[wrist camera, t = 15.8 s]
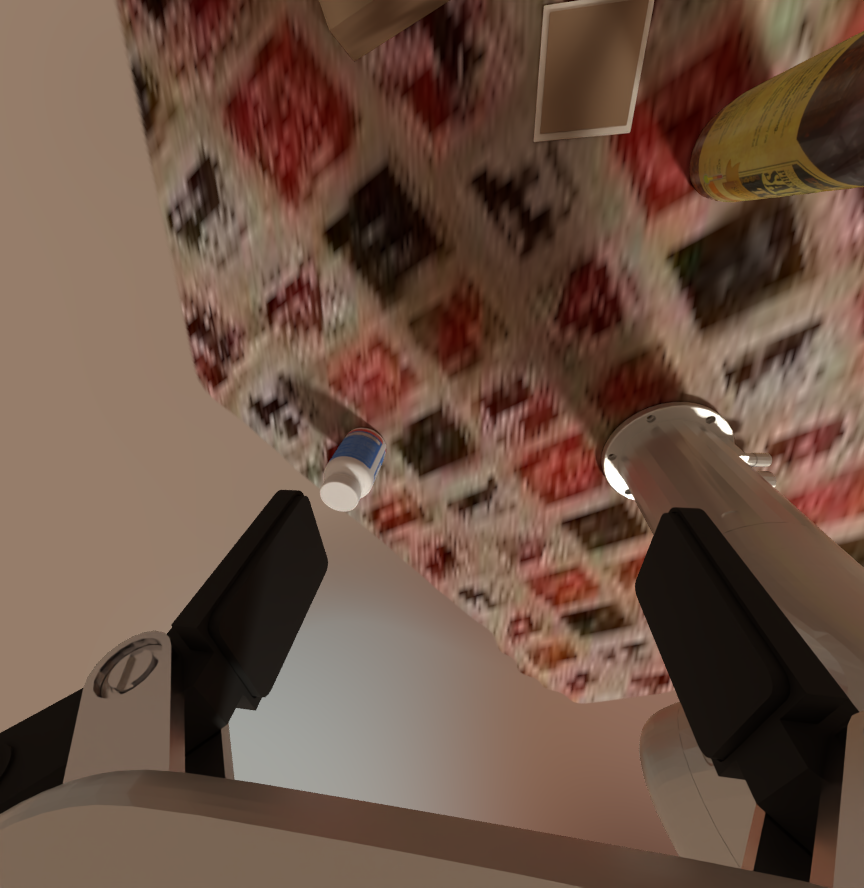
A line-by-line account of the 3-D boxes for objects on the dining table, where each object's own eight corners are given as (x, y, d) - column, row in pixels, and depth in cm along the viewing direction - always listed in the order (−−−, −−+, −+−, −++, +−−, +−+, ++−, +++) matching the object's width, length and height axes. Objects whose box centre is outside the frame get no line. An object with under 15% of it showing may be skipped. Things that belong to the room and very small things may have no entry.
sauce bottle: (676, 210, 27) (978, 183, 11) (695, 104, 24) (1167, -176, 7) (773, 194, 26) (1288, 134, 9) (806, 79, 23) (1673, -321, 6)
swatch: (655, -10, 22) (658, -14, 21) (629, 133, 25) (631, 131, 25) (543, 7, 23) (544, 3, 22) (533, 142, 26) (534, 141, 26)
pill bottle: (338, 430, 43) (302, 479, 34) (378, 422, 41) (351, 470, 33) (355, 466, 45) (326, 519, 37) (393, 459, 44) (372, 513, 36)
